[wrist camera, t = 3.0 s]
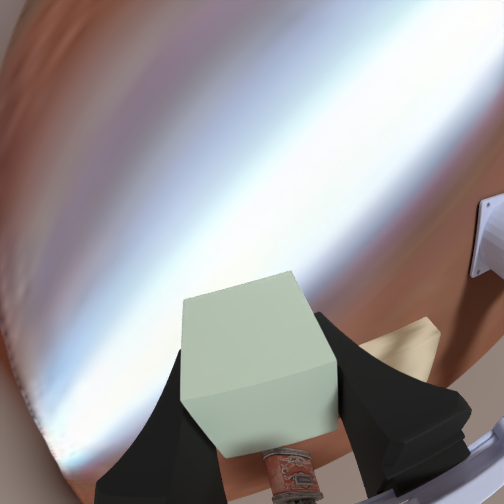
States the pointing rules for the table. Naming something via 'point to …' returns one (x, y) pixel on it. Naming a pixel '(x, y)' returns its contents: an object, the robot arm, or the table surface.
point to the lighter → (291, 476)
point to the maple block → (408, 348)
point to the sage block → (257, 367)
